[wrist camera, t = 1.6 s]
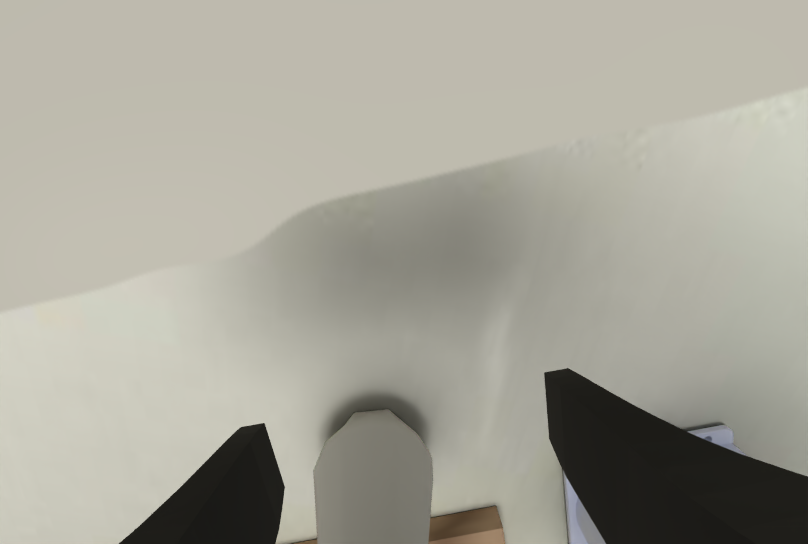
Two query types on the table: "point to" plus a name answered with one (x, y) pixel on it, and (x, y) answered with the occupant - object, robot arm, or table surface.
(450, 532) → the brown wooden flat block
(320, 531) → the salt shaker
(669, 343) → the table surface
